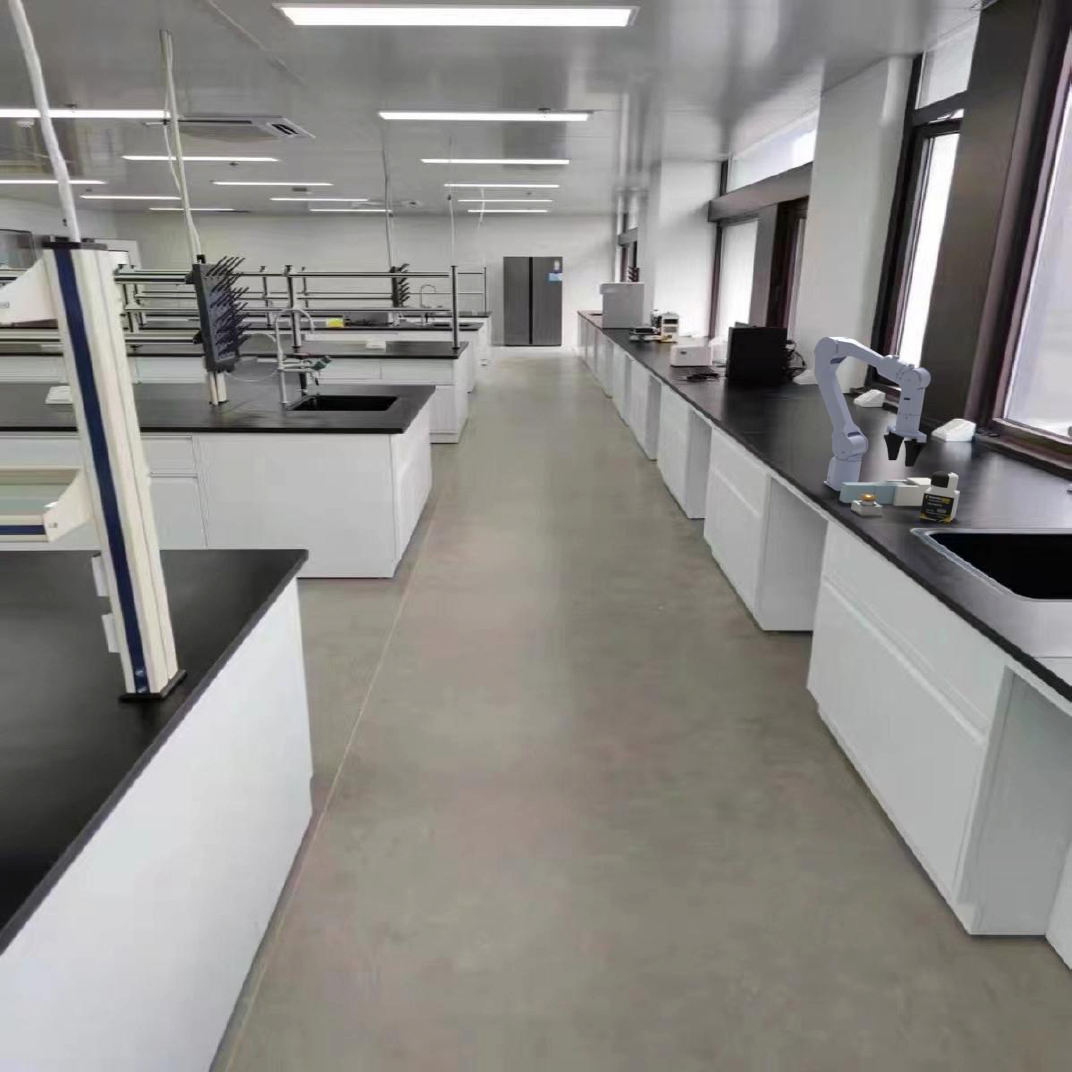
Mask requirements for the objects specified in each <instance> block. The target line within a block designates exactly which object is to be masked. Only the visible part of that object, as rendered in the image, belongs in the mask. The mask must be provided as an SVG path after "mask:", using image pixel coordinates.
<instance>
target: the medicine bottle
mask: <svg viewBox="0 0 1072 1072" xmlns="http://www.w3.org/2000/svg"><path fill="white" fill-rule="evenodd" d="M930 479H931V483H930V488H928V489H927V490H926V491H925V492H924V496H923V501H922V506H921V507H920V511H919V518H920V519H925V520H931V521H936V520H940V521H939V522H941V521H947V522H950V521H951V520H952V521H953V519H955V517H956V512H957V508H958V505H959V499H960V495H961V494H960V493H961V492H960V490H957V488H958V483H959V475H958V474H956V473H954V472H950V471H947V470H943V471H941V470H939V471H934V472H933V473H932V474H931V478H930ZM952 521H951V522H952ZM951 522H950V523H951Z"/></svg>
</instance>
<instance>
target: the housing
mask: <svg viewBox="0 0 1072 1072" xmlns="http://www.w3.org/2000/svg"><path fill="white" fill-rule="evenodd" d="M884 482H902V483H904V484H906V485H908V486H903V485H896V489H895V495H894V501H893V504H892V505H893V506H896V507H898V506H901V507H903V506H904V507H905V506H906V507H907V506H908V507H910V506H911V507H920V506H922V501H923V496H924V492H925V491H926V490H927V489H928V488H930V483H931V478H929V477H906V479H885V480H884Z"/></svg>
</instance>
